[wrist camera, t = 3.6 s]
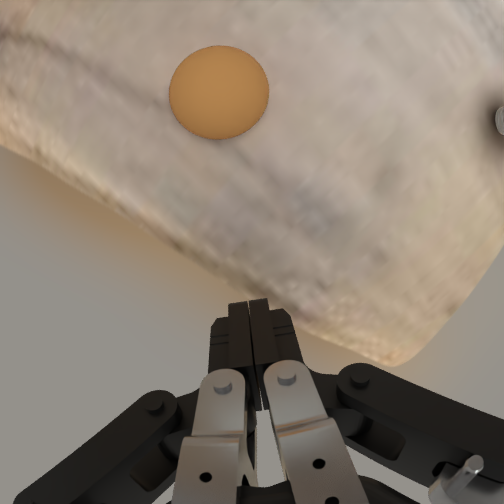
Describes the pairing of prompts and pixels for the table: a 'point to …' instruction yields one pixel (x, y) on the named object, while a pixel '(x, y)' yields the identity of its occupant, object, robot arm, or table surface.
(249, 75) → the ball
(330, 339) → the table surface
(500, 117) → the lightbulb
